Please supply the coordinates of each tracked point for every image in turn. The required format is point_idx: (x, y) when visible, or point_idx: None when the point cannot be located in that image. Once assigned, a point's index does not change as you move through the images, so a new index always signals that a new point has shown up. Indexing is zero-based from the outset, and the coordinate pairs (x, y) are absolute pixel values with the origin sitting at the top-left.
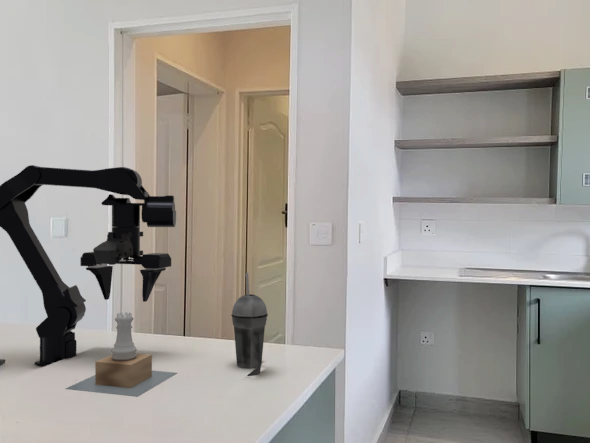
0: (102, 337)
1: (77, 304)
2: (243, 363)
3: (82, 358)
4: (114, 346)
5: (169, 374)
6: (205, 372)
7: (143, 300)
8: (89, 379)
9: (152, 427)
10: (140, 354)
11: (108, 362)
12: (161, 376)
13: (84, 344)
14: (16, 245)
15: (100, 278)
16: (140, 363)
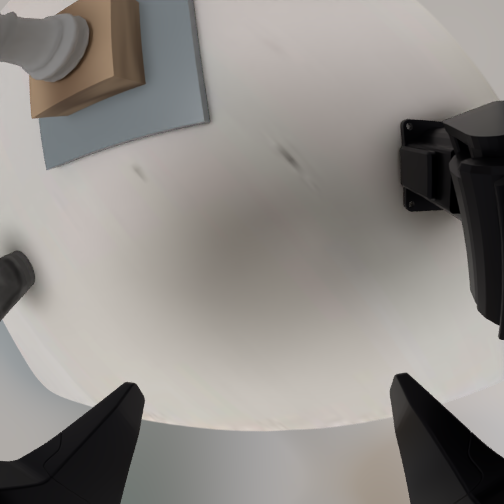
0: (440, 375)
1: (501, 200)
2: (2, 258)
3: (407, 225)
4: (60, 20)
5: (50, 150)
6: (58, 241)
7: (128, 385)
8: (178, 12)
9: None
10: (51, 100)
11: (78, 2)
12: (54, 129)
13: (457, 325)
14: None
15: (474, 476)
16: None
